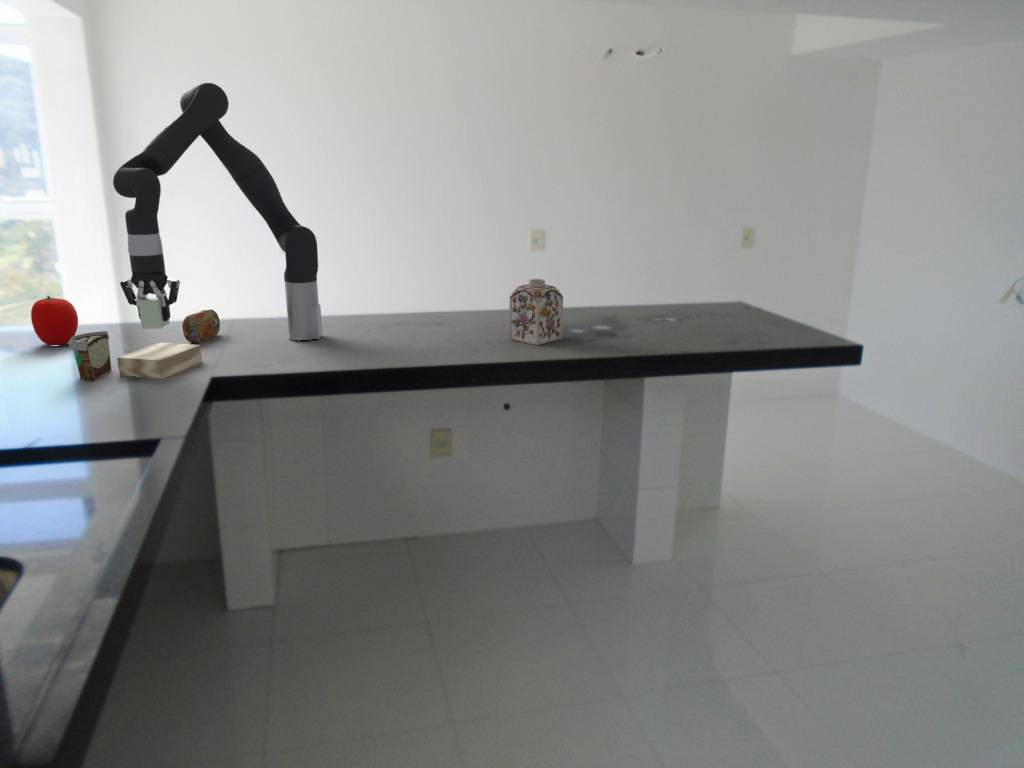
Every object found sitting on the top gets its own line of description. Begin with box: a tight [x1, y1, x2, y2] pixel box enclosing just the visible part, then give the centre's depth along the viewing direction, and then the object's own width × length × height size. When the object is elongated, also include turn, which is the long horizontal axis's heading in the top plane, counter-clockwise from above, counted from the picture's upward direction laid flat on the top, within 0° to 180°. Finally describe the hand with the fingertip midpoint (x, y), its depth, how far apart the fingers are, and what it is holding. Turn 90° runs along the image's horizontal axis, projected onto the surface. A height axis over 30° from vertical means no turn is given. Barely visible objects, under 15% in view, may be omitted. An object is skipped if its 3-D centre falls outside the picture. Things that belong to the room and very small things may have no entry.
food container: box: [68, 330, 113, 382], centre depth 180 cm, size 12×6×10 cm, turn 5°
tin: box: [182, 309, 221, 344], centre depth 218 cm, size 15×3×8 cm, turn 168°
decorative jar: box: [508, 278, 564, 346], centre depth 218 cm, size 12×12×18 cm
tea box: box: [138, 295, 171, 330], centre depth 185 cm, size 4×6×7 cm
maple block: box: [116, 342, 203, 380], centre depth 188 cm, size 12×16×5 cm
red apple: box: [30, 295, 79, 346], centre depth 211 cm, size 13×11×14 cm
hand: (155, 320), depth 185 cm, fingers closed on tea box, 4 cm apart
